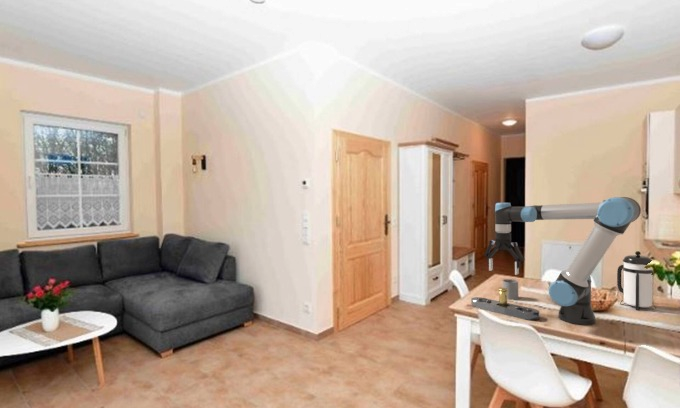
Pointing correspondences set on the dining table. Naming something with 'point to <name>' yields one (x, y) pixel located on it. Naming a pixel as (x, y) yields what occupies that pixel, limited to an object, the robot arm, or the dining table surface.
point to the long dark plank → (505, 308)
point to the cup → (511, 288)
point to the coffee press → (636, 281)
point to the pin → (503, 297)
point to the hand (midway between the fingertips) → (503, 272)
